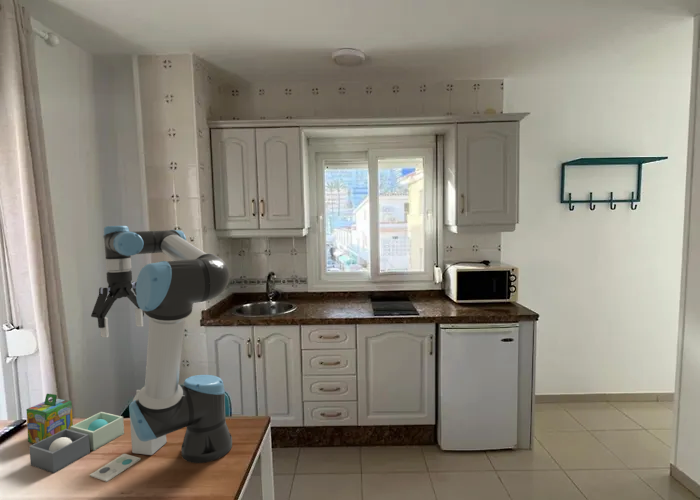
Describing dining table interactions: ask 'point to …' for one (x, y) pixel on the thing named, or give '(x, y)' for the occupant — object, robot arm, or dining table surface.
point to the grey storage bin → (59, 451)
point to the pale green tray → (101, 429)
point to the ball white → (59, 443)
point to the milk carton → (147, 446)
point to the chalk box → (48, 418)
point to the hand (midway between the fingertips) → (123, 331)
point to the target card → (115, 467)
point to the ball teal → (97, 424)
